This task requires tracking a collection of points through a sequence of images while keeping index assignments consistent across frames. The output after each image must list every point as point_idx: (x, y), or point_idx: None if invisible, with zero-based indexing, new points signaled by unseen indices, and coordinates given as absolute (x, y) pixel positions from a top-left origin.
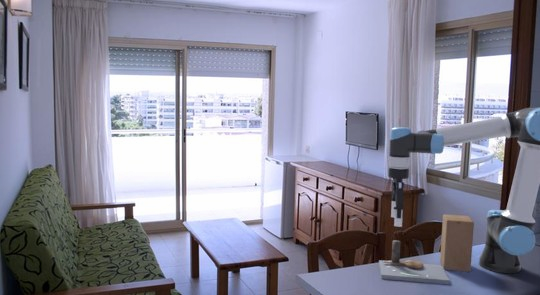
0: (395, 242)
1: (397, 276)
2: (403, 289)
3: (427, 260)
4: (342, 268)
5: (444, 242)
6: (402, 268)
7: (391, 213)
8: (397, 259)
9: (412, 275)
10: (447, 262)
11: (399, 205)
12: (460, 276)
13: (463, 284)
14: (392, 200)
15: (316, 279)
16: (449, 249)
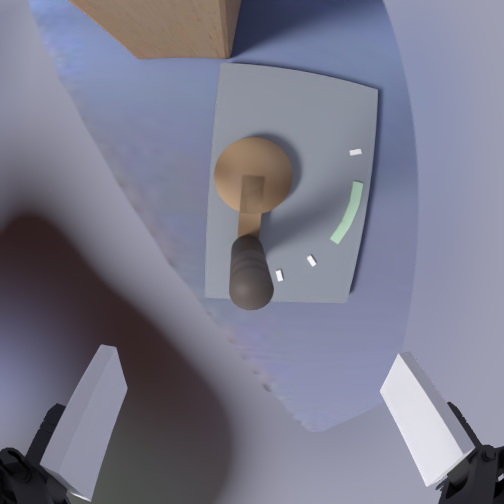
0: (270, 298)
1: (357, 256)
2: (411, 246)
3: (131, 102)
4: (267, 382)
5: (197, 12)
6: (284, 225)
7: (117, 411)
8: (263, 250)
9: (356, 205)
10: (231, 39)
11: (460, 492)
12: (292, 29)
13: (362, 50)
14: (65, 494)
15: (338, 413)
16: (232, 9)
